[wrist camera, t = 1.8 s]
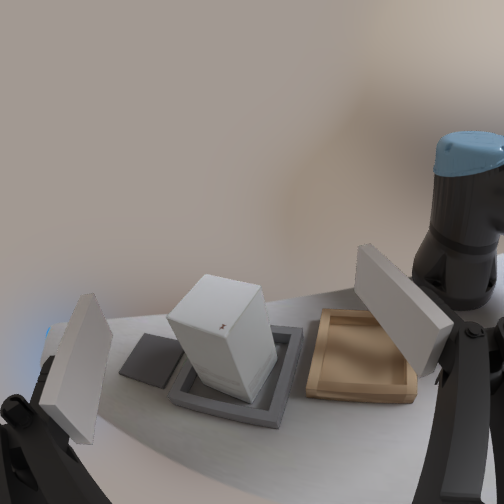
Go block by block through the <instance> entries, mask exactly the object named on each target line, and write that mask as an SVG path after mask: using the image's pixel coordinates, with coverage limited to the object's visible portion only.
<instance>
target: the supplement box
mask: <svg viewBox="0 0 504 504" xmlns="http://www.w3.org/2000/svg"><path fill="white" fill-rule="evenodd" d="M166 318H167V320H168V322H169V324H170V326H171V328H172V330H173V331H174V333H175V335H176V337H177V339H178V341H179V342H180V344H181V346H182V348H183V350H184V351H185V353H186V355H187V357H188V358H189V360H190V362H191V364H192V365H193V367H194V369H195V371H196V372H197V374H198V376H199V377H200V379H201V381H202V383H203V384H204V385H206V386H209V387H211V388H213V389H215V390H218V391H220V392H222V393H225V394H227V395H230V396H232V397H235V398H237V399H240V400H242V401H245V402H248V403H250V404H252V402H253V401H254V399H255V397H256V396H257V394H258V393H259V391H260V389H261V388H262V386H263V384H264V383H265V381H266V379H267V378H268V376H269V374H270V372H271V371H272V369H273V367H274V366H275V364H276V362H277V360H278V358H277V353H276V349H275V344H274V340H273V336H272V331H271V327H270V323H269V318H268V314H267V310H266V305H265V301H264V296H263V292H262V288H261V285H255V284H251V283H245V282H241V281H236V280H232V279H226V278H222V277H218V276H213V275H209V274H205V275H204V276H203V277H202V278H201V279H200V280H199V282H197V283H196V285H195V286H194V287H193V288H192V289H191V290H190V291H189V292H188V293H187V294H186V295H185V297H184V298H183V299H182V300H181V301H180V302H179V303H178V304H177V306H176V307H175V308H174V309H173V310H172V311H171V312H170V313H169V314H168V315H167V316H166Z"/></svg>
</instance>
